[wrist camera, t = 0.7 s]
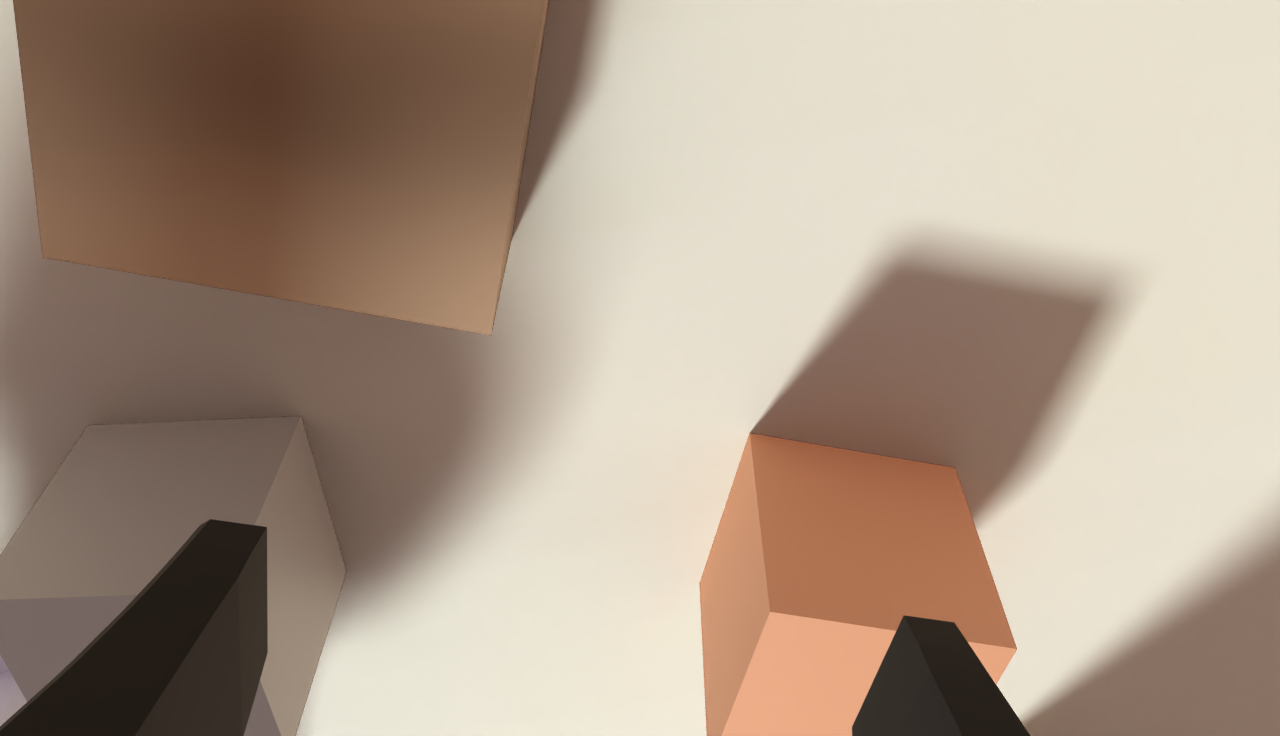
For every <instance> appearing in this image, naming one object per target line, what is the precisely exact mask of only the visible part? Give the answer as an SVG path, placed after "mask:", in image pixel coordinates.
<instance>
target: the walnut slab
mask: <svg viewBox="0 0 1280 736" xmlns="http://www.w3.org/2000/svg"><path fill="white" fill-rule="evenodd" d="M13 4H14V12H15V21H16V30H17V39H18V47H19V56H20V65H21V73H22V82H23V91H24V100H25V108H26V117H27V126H28V134H29V143H30V152H31V161H32V169H33V178H34V187H35V195H36V204H37V213H38V221H39V230H40V239H41V248H42V256H43V258H49V259H55V260H61V261H66V262H72V263H78V264H84V265H89V266H95V267H101V268H107V269H112V270H118V271H124V272H130V273H135V274H141V275H147V276H153V277H158V278H164V279H170V280H176V281H181V282H187V283H193V284H199V285H204V286H210V287H216V288H222V289H227V290H233V291H239V292H245V293H250V294H256V295H262V296H268V297H273V298H279V299H285V300H290V301H296V302H302V303H308V304H313V305H319V306H325V307H331V308H336V309H342V310H348V311H354V312H359V313H365V314H371V315H377V316H382V317H388V318H394V319H400V320H405V321H411V322H417V323H423V324H428V325H434V326H440V327H446V328H451V329H457V330H463V331H469V332H474V333H480V334H486V335H491V333H492V329H493V324H494V319H495V315H496V310H497V305H498V300H499V296H500V291H501V286H502V282H503V277H504V272H505V268H506V263H507V258H508V254H509V249H510V244H511V239H512V233H513V227H514V220H515V214H516V208H517V201H518V195H519V189H520V182H521V176H522V170H523V163H524V157H525V151H526V144H527V138H528V132H529V125H530V119H531V113H532V106H533V100H534V94H535V87H536V81H537V75H538V68H539V62H540V56H541V49H542V43H543V37H544V30H545V24H546V18H547V11H548V5H549V0H13Z"/></svg>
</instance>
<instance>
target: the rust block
mask: <svg viewBox="0 0 1280 736" xmlns="http://www.w3.org/2000/svg"><path fill="white" fill-rule="evenodd" d="M700 604H701V625H702V646H703V667H704V688H705V709H706V730H707V736H852V726H853V724H854V722H855V719H856V717H857V715H858V713H859V711H860V709H861V706H862V704H863V702H864V700H865V698H866V696H867V693H868V691H869V689H870V687H871V685H872V683H873V680H874V678H875V676H876V674H877V672H878V670H879V667H880V665H881V663H882V661H883V659H884V657H885V654H886V652H887V650H888V648H889V646H890V644H891V641H892V639H893V637H894V635H895V633H896V631H897V628H898V626H899V624H900V622H901V620H902V618H903V615H905V616H912V617H920V618H927V619H934V620H941V621H948V622H955V624H956V625H957V627H958V628H959V630H960V631H961V633H962V634H963V636H964V637H965V639H966V640H967V642H968V643H969V645H970V646H971V648H972V649H973V651H974V652H975V654H976V655H977V657H978V658H979V660H980V661H981V663H982V664H983V666H984V667H985V669H986V670H987V672H988V673H989V675H990V676H991V678H992V679H993V681H994V682H995V684H997V682H998V681H999V679H1000V677H1001V676H1002V674H1003V672H1004V670H1005V669H1006V667H1007V665H1008V664H1009V662H1010V660H1011V659H1012V657H1013V655H1014V654H1015V652H1016V650H1017V647H1016V644H1015V642H1014V639H1013V636H1012V633H1011V630H1010V627H1009V624H1008V621H1007V618H1006V615H1005V612H1004V609H1003V606H1002V604H1001V601H1000V598H999V595H998V592H997V589H996V586H995V583H994V580H993V577H992V574H991V571H990V568H989V565H988V563H987V560H986V557H985V554H984V551H983V548H982V545H981V542H980V539H979V536H978V533H977V530H976V527H975V525H974V522H973V519H972V516H971V513H970V510H969V507H968V504H967V501H966V498H965V495H964V492H963V489H962V486H961V484H960V481H959V478H958V475H957V472H956V469H955V468H953V467H947V466H941V465H935V464H929V463H923V462H917V461H911V460H905V459H899V458H894V457H888V456H882V455H876V454H870V453H864V452H858V451H852V450H846V449H840V448H834V447H829V446H823V445H817V444H811V443H805V442H799V441H793V440H787V439H781V438H775V437H770V436H764V435H758V434H752V433H749V436H748V439H747V442H746V445H745V448H744V451H743V454H742V457H741V460H740V463H739V466H738V469H737V472H736V475H735V478H734V481H733V484H732V487H731V490H730V493H729V496H728V499H727V502H726V505H725V508H724V511H723V514H722V517H721V520H720V523H719V526H718V529H717V532H716V535H715V538H714V541H713V544H712V547H711V550H710V553H709V557H708V560H707V563H706V566H705V569H704V572H703V575H702V578H701V581H700Z"/></svg>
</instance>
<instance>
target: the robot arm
mask: <svg viewBox="0 0 1280 736" xmlns="http://www.w3.org/2000/svg"><path fill="white" fill-rule="evenodd" d="M267 653H268V619H267V527H264V526H257V525H249V524H242V523H235V522H228V521H220V520H213V519H210V520H208V521H206V522H205V523H203V524H201V525H200V526H199V527H198V528H197V529H196V530H195V532H194V533H193V534H192V535H191V536H190V537H189V539H188V540H187V541H186V542H185V543H184V544H183V546H182V547H181V548H180V549H179V550H178V551H177V552H176V553H175V555H174V556H173V557H172V558H171V559H170V560H169V561H168V563H167V564H166V565H165V566H164V567H163V568H162V569H161V570H160V571H159V572H158V574H157V575H156V576H155V577H154V578H153V579H152V580H151V581H150V582H149V583H148V584H147V585H146V587H145V588H144V589H143V590H142V591H141V592H140V593H139V594H138V595H137V596H136V597H135V598H134V599H133V600H132V601H131V602H130V603H129V604H128V605H127V607H126V608H125V609H124V610H123V611H122V612H121V613H120V614H119V615H118V616H117V617H116V618H115V619H114V620H113V621H112V622H111V623H110V624H109V625H108V626H107V627H106V628H105V629H104V630H103V631H102V632H101V633H100V634H99V635H98V636H97V637H96V638H95V639H94V640H93V641H92V642H91V643H90V644H89V645H88V646H87V647H86V648H85V649H84V650H83V651H82V652H81V653H80V654H78V655H77V656H76V657H75V658H74V659H73V660H72V661H71V662H70V663H69V664H68V665H67V666H66V667H65V668H64V669H63V670H62V671H61V672H60V673H59V674H58V675H57V676H56V677H55V678H53V679H52V680H51V681H50V682H49V683H48V684H47V685H46V686H44V687H43V688H42V689H41V690H40V691H39V692H38V693H37V694H36V695H34V696H33V697H32V698H31V699H30V700H29V701H28V702H27V701H26V699H25V697H24V695H23V694H22V692H21V690H20V688H19V687H18V685H17V683H16V681H15V680H14V678H13V676H12V674H11V673H10V671H9V669H8V667H7V666H6V664H5V662H4V660H3V659H2V657H1V655H0V736H244V733H245V729H246V726H247V723H248V719H249V716H250V713H251V709H252V706H253V703H254V699H255V696H256V692H257V689H258V685H259V681H260V678H261V674H262V671H263V667H264V664H265V660H266V657H267ZM852 736H1030V735H1029V733H1028V732H1027V730H1026V729H1025V727H1024V726H1023V724H1022V723H1021V721H1020V720H1019V718H1018V717H1017V715H1016V714H1015V712H1014V711H1013V709H1012V708H1011V706H1010V705H1009V703H1008V702H1007V700H1006V699H1005V697H1004V696H1003V694H1002V693H1001V691H1000V690H999V688H998V687H997V685H996V684H995V682H994V681H993V679H992V678H991V676H990V675H989V673H988V672H987V670H986V669H985V667H984V666H983V664H982V663H981V661H980V660H979V658H978V657H977V655H976V654H975V652H974V651H973V649H972V648H971V646H970V645H969V643H968V642H967V640H966V639H965V637H964V636H963V634H962V633H961V631H960V630H959V628H958V627H957V625H956V624H955V622H948V621H941V620H934V619H927V618H920V617H912V616H905V615H903V618H902V620H901V622H900V624H899V626H898V628H897V631H896V633H895V635H894V637H893V639H892V641H891V644H890V646H889V648H888V650H887V652H886V654H885V657H884V659H883V661H882V663H881V665H880V667H879V670H878V672H877V674H876V676H875V678H874V680H873V683H872V685H871V687H870V689H869V691H868V693H867V696H866V698H865V700H864V702H863V704H862V706H861V709H860V711H859V713H858V715H857V717H856V719H855V722H854V724H853V726H852Z"/></svg>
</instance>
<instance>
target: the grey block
mask: <svg viewBox="0 0 1280 736" xmlns="http://www.w3.org/2000/svg"><path fill="white" fill-rule="evenodd" d="M210 519H213V520H220V521H228V522H235V523H242V524H249V525H257V526H264V527H267V619H268V653H267V657H266V660H265V664H264V667H263V671H262V674H261V678H260V681H259V685H258V689H257V692H256V696H255V699H254V703H253V706H252V709H251V713H250V716H249V719H248V723H247V726H246V729H245V733H244V736H296V733H297V729H298V726H299V723H300V720H301V717H302V713H303V710H304V707H305V704H306V701H307V697H308V694H309V691H310V688H311V685H312V681H313V678H314V675H315V672H316V669H317V665H318V662H319V659H320V656H321V653H322V649H323V646H324V643H325V640H326V637H327V633H328V630H329V627H330V624H331V621H332V617H333V614H334V611H335V608H336V605H337V601H338V598H339V595H340V592H341V588H342V585H343V582H344V579H345V576H346V572H347V571H346V568H345V564H344V561H343V557H342V554H341V551H340V547H339V544H338V540H337V537H336V533H335V530H334V527H333V523H332V520H331V516H330V513H329V509H328V506H327V503H326V499H325V496H324V492H323V489H322V486H321V482H320V479H319V475H318V472H317V468H316V465H315V462H314V458H313V455H312V451H311V448H310V444H309V441H308V438H307V434H306V431H305V427H304V424H303V421H302V417H301V416H289V417H266V418H242V419H218V420H195V421H171V422H148V423H124V424H101V425H88V426H87V427H86V429H85V430H84V432H83V433H82V435H81V436H80V438H79V439H78V441H77V442H76V444H75V445H74V447H73V448H72V450H71V451H70V453H69V454H68V456H67V457H66V459H65V460H64V462H63V463H62V465H61V466H60V467H59V469H58V470H57V472H56V473H55V475H54V476H53V478H52V479H51V481H50V482H49V484H48V485H47V487H46V488H45V490H44V491H43V493H42V494H41V496H40V497H39V499H38V500H37V502H36V503H35V505H34V506H33V508H32V509H31V510H30V512H29V513H28V515H27V516H26V518H25V519H24V521H23V522H22V524H21V525H20V527H19V528H18V530H17V531H16V533H15V534H14V536H13V537H12V539H11V540H10V542H9V543H8V545H7V546H6V548H5V549H4V550H3V552H2V553H1V555H0V655H1V657H2V659H3V660H4V662H5V664H6V666H7V667H8V669H9V671H10V673H11V674H12V676H13V678H14V680H15V681H16V683H17V685H18V687H19V688H20V690H21V692H22V694H23V695H24V697H25V699H26V701H27V702H28V701H29V700H30V699H31V698H32V697H33V696H34V695H36V694H37V693H38V692H39V691H40V690H41V689H42V688H43V687H44V686H46V685H47V684H48V683H49V682H50V681H51V680H52V679H53V678H55V677H56V676H57V675H58V674H59V673H60V672H61V671H62V670H63V669H64V668H65V667H66V666H67V665H68V664H69V663H70V662H71V661H72V660H73V659H74V658H75V657H76V656H77V655H78V654H80V653H81V652H82V651H83V650H84V649H85V648H86V647H87V646H88V645H89V644H90V643H91V642H92V641H93V640H94V639H95V638H96V637H97V636H98V635H99V634H100V633H101V632H102V631H103V630H104V629H105V628H106V627H107V626H108V625H109V624H110V623H111V622H112V621H113V620H114V619H115V618H116V617H117V616H118V615H119V614H120V613H121V612H122V611H123V610H124V609H125V608H126V607H127V605H128V604H129V603H130V602H131V601H132V600H133V599H134V598H135V597H136V596H137V595H138V594H139V593H140V592H141V591H142V590H143V589H144V588H145V587H146V585H147V584H148V583H149V582H150V581H151V580H152V579H153V578H154V577H155V576H156V575H157V574H158V572H159V571H160V570H161V569H162V568H163V567H164V566H165V565H166V564H167V563H168V561H169V560H170V559H171V558H172V557H173V556H174V555H175V553H176V552H177V551H178V550H179V549H180V548H181V547H182V546H183V544H184V543H185V542H186V541H187V540H188V539H189V537H190V536H191V535H192V534H193V533H194V532H195V530H196V529H197V528H198V527H199V526H200V525H201V524H203V523H205V522H206V521H208V520H210Z"/></svg>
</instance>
